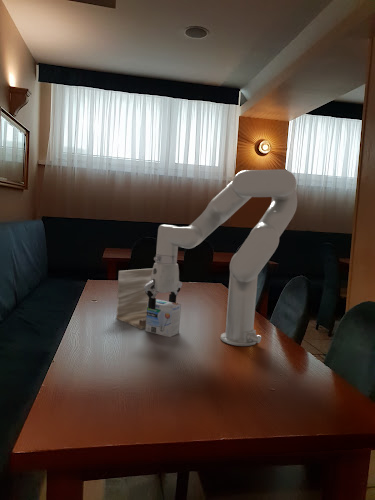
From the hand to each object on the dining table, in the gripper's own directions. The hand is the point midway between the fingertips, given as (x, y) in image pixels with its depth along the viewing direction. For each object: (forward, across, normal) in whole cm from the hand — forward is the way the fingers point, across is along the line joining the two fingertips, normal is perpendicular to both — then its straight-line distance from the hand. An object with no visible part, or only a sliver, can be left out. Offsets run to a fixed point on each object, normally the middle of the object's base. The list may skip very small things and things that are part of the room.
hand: (161, 307), depth 138 cm
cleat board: (+9, +6, +14) cm, 18 cm away
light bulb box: (+9, +1, -1) cm, 9 cm away
